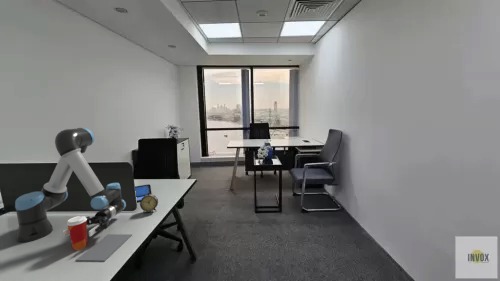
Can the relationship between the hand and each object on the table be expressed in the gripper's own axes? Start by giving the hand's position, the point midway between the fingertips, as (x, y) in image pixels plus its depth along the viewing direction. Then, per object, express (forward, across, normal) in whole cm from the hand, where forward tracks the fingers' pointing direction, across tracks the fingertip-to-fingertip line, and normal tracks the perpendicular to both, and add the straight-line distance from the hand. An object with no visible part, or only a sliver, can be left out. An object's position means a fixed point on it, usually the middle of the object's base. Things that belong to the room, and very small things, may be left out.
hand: (76, 233), depth 113 cm
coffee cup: (-2, 0, -8) cm, 8 cm away
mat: (-1, -14, -8) cm, 16 cm away
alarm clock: (-42, -16, -8) cm, 46 cm away
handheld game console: (-66, +2, -8) cm, 66 cm away
